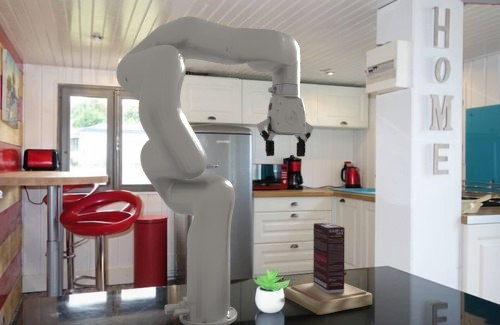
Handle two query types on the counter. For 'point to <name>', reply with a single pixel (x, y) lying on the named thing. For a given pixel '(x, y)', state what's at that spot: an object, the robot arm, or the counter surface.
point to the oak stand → (328, 298)
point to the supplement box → (329, 257)
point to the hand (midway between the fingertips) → (285, 156)
